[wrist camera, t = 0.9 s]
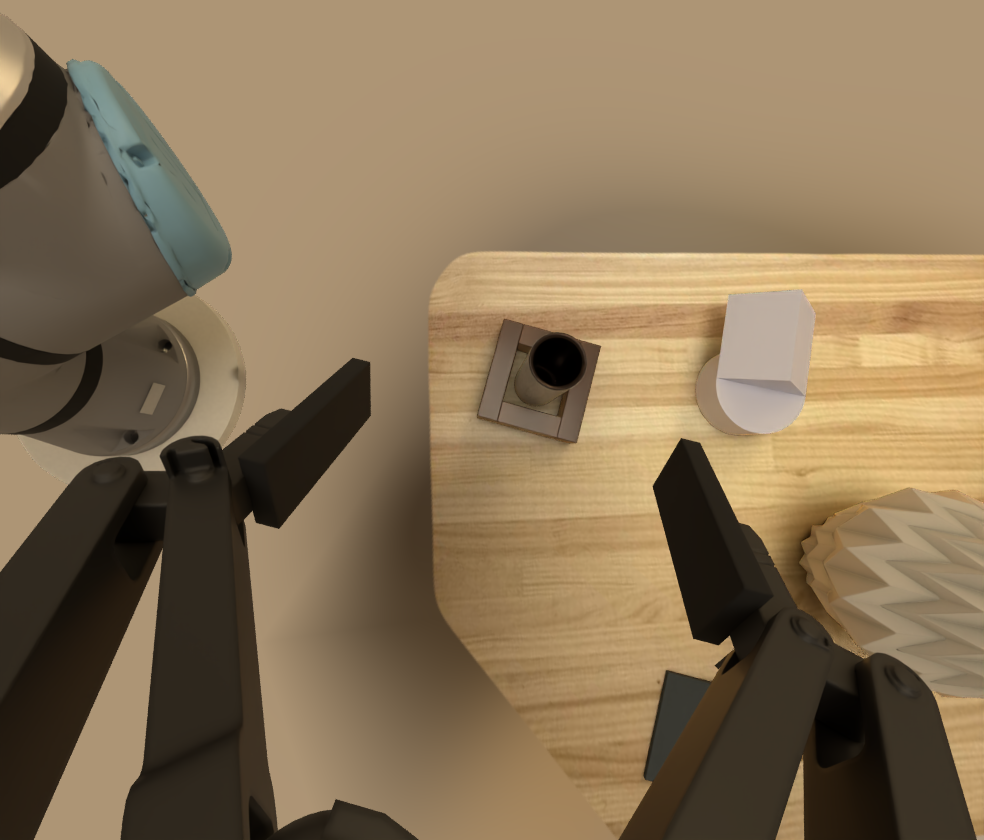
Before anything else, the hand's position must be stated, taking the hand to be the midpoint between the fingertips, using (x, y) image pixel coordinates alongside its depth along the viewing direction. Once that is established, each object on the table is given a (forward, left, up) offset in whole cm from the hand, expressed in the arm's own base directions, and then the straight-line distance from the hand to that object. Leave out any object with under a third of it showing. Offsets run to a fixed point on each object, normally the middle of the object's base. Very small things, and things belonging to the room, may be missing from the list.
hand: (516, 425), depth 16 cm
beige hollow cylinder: (+3, +7, -22) cm, 24 cm away
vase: (+38, -2, -22) cm, 44 cm away
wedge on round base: (+24, +14, -22) cm, 35 cm away
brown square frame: (+3, +7, -22) cm, 23 cm away
